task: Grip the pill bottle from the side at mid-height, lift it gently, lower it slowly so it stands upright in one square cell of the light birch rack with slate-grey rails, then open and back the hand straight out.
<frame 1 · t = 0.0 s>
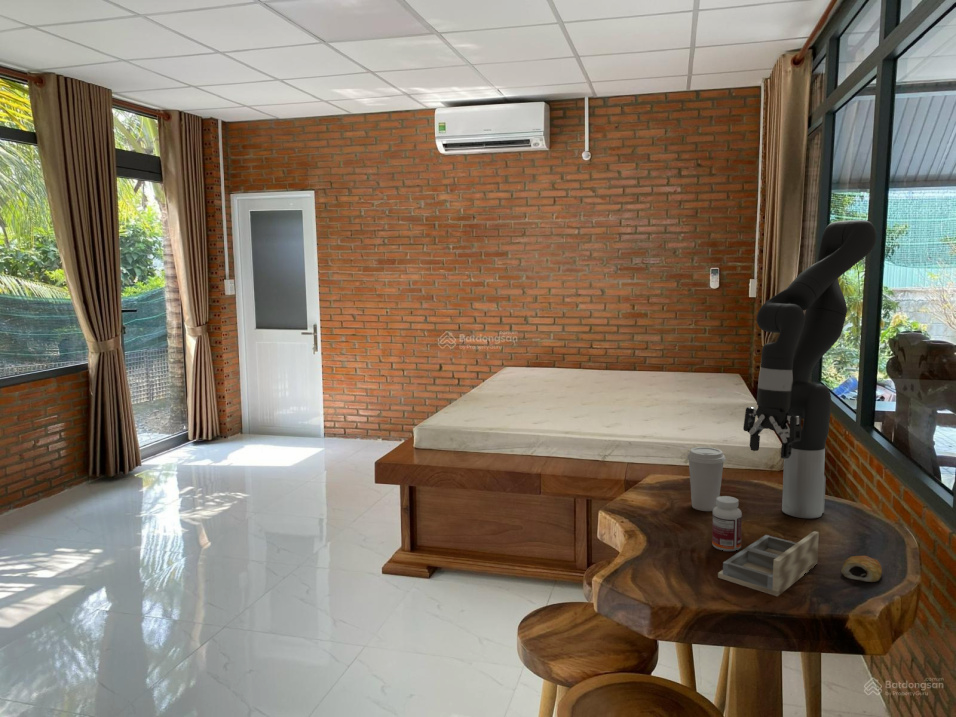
hand: (769, 454, 169), 17 cm above the table, tool pointing down, fingers open, 8 cm apart
pill bottle: (726, 547, 158), on the table
bottle rack: (768, 570, 145), on the table
pastry: (861, 575, 143), on the table
coffee cup: (704, 507, 184), on the table
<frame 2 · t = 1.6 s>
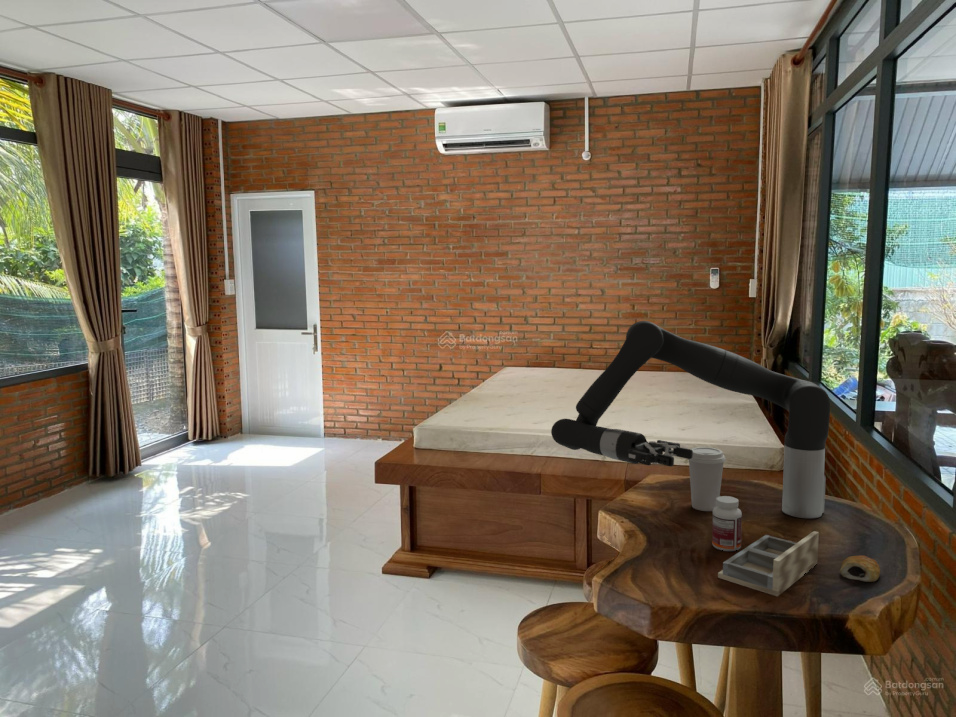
hand: (682, 458, 163), 18 cm above the table, tool horizontal, fingers open, 8 cm apart
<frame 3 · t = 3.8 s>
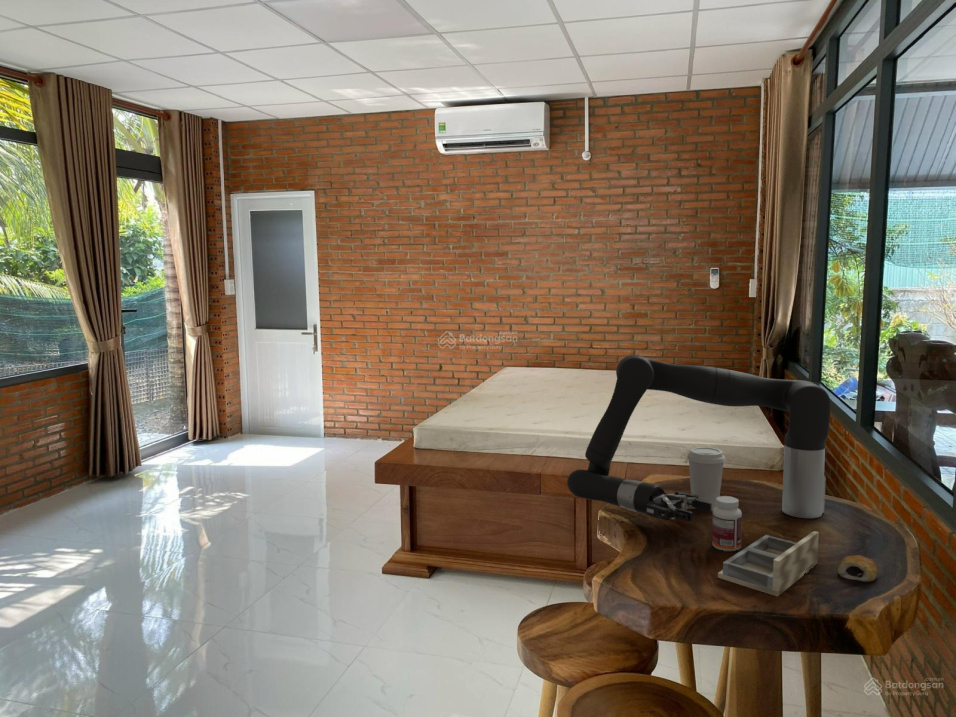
hand: (701, 512, 161), 6 cm above the table, tool horizontal, fingers open, 8 cm apart
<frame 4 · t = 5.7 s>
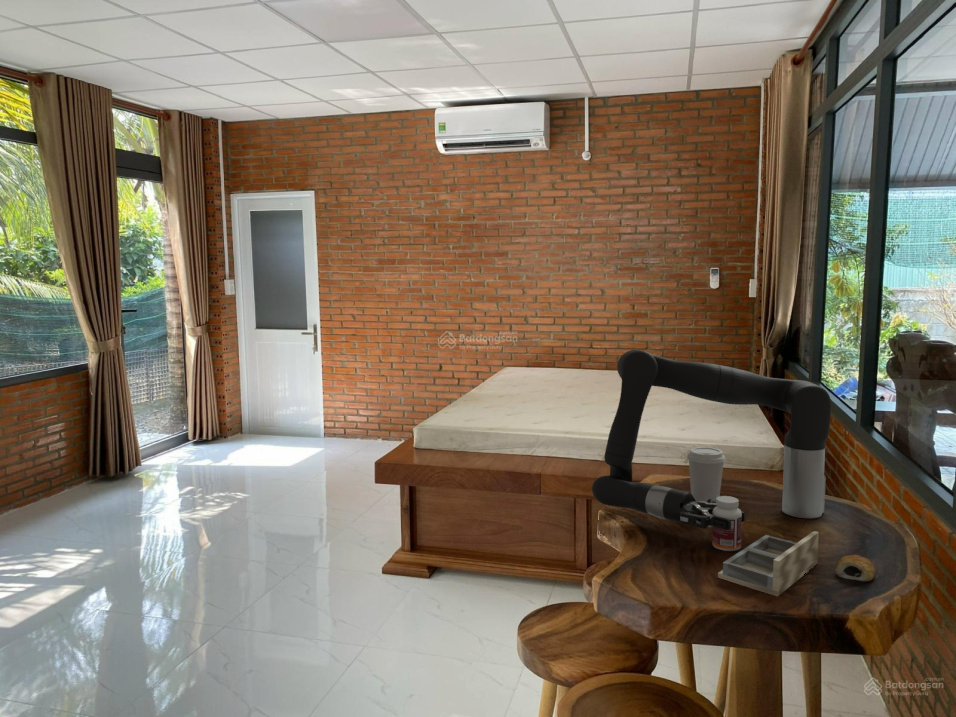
hand: (737, 521, 155), 7 cm above the table, tool horizontal, fingers closed on pill bottle, 6 cm apart
pill bottle: (726, 547, 158), on the table, touching gripper
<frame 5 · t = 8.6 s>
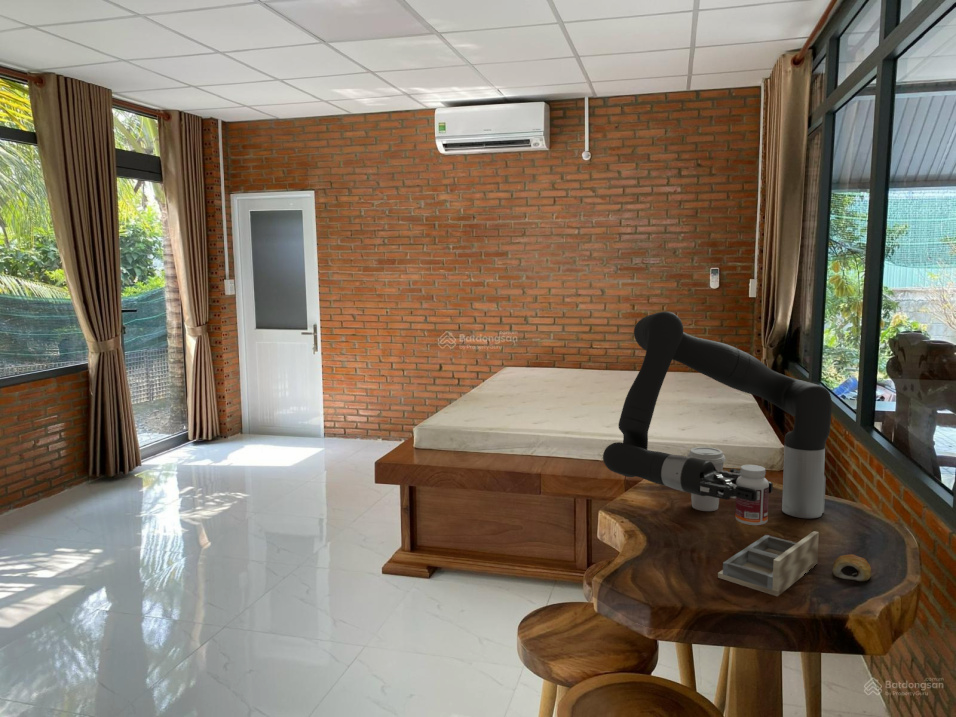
hand: (764, 492, 140), 18 cm above the table, tool horizontal, fingers closed on pill bottle, 6 cm apart
pill bottle: (751, 521, 143), point 11 cm above the table, touching gripper
when the fingers open (9 cm above the table, at t = 11.5 s): pill bottle drops 1 cm, resting on bottle rack.
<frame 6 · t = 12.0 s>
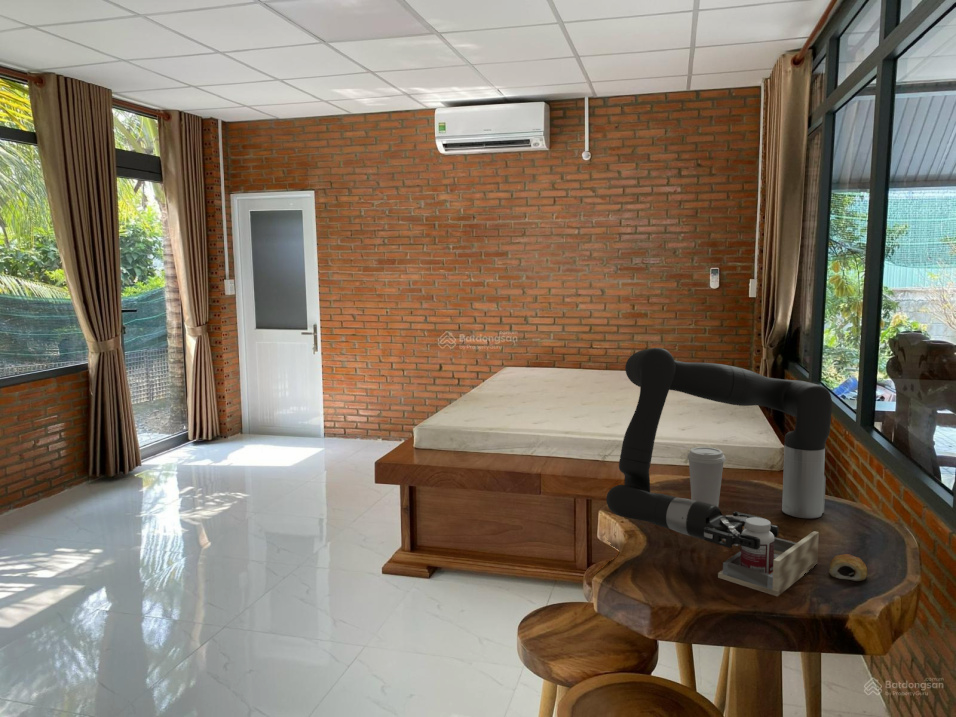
hand: (768, 538, 139), 9 cm above the table, tool horizontal, fingers open, 8 cm apart
pill bottle: (756, 574, 142), point 1 cm above the table, touching bottle rack
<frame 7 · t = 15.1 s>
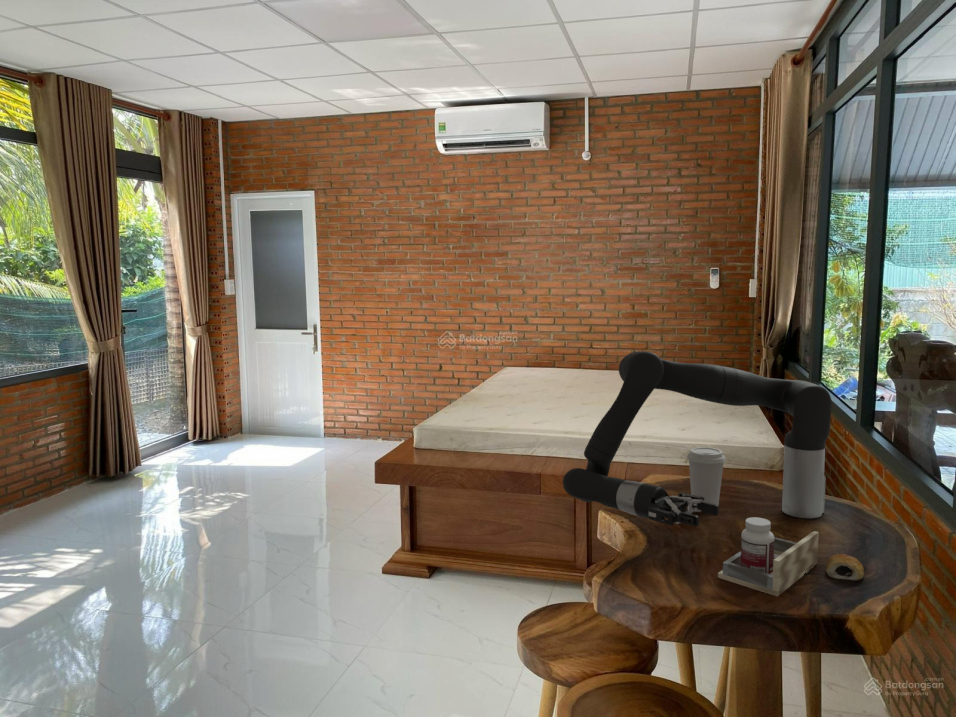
hand: (708, 516, 148), 10 cm above the table, tool horizontal, fingers open, 8 cm apart
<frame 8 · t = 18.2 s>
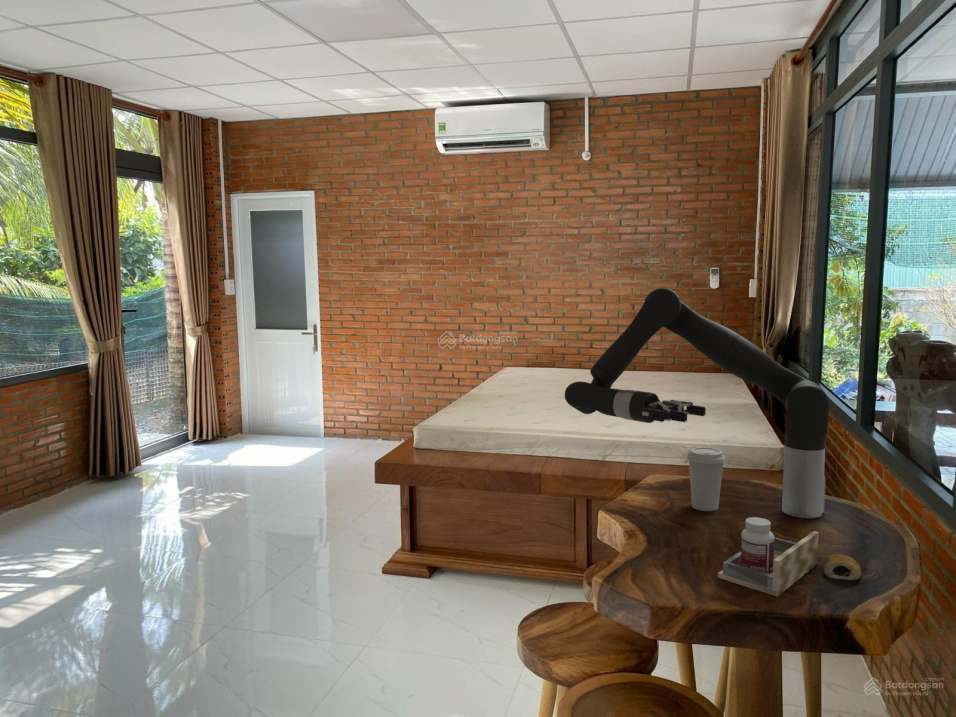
hand: (695, 414, 165), 28 cm above the table, tool horizontal, fingers open, 8 cm apart
at the end: pill bottle 0.3 cm from the target spot on the bottle rack, point 0.8 cm above the bottle rack's base; pill bottle tilted 0°; the gripper is holding nothing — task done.
